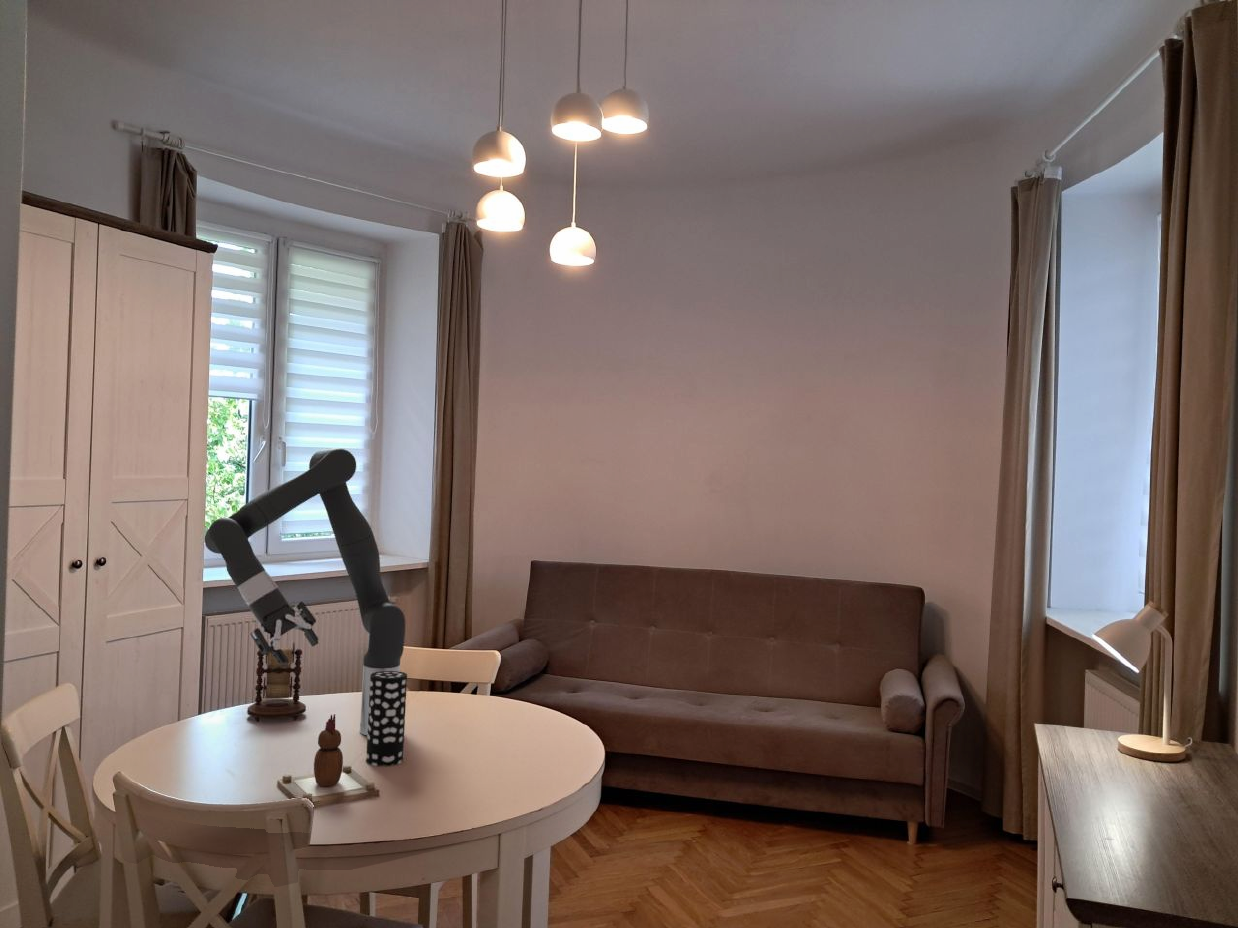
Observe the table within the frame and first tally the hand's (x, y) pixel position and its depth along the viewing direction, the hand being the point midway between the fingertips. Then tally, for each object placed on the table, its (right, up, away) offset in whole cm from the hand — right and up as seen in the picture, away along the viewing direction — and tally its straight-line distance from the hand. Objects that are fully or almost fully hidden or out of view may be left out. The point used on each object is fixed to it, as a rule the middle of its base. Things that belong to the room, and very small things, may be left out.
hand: (301, 654), depth 208 cm
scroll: (-19, -24, +35) cm, 47 cm away
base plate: (+12, -25, -19) cm, 33 cm away
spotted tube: (+19, -26, +2) cm, 32 cm away
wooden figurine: (+12, -23, -19) cm, 33 cm away
